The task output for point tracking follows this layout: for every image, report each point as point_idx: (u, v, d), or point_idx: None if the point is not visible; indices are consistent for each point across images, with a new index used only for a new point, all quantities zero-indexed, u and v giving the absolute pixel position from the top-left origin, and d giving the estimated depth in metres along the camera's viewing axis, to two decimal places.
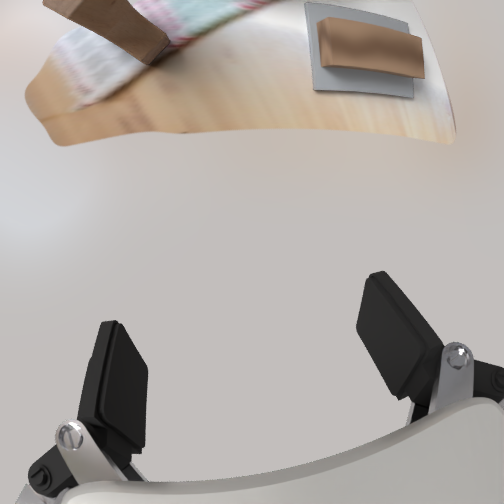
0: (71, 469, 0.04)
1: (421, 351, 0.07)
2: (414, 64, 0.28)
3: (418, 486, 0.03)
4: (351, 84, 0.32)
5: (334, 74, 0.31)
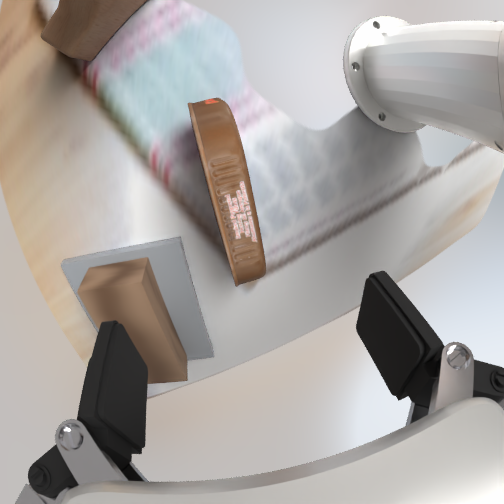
0: (71, 469, 0.04)
1: (421, 351, 0.07)
2: None
3: (418, 486, 0.03)
4: None
5: None
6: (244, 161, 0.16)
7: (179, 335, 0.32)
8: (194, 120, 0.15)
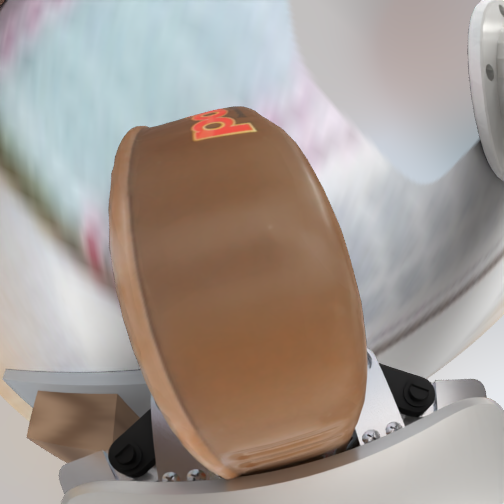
0: (154, 430, 0.05)
1: None
2: None
3: (418, 486, 0.03)
4: None
5: None
6: (358, 417, 0.04)
7: None
8: (125, 267, 0.03)
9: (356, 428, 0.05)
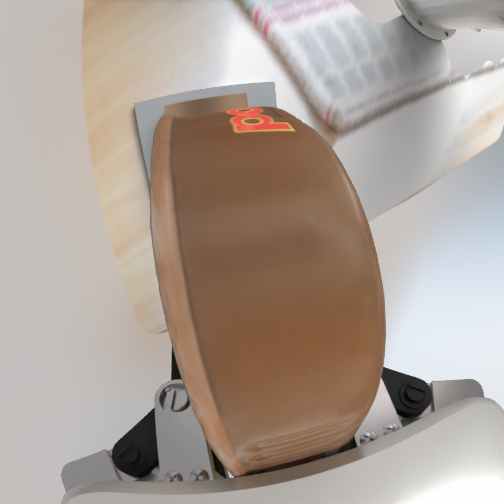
0: (158, 429, 0.05)
1: None
2: None
3: (418, 486, 0.03)
4: None
5: None
6: (367, 413, 0.04)
7: None
8: (167, 245, 0.03)
9: None
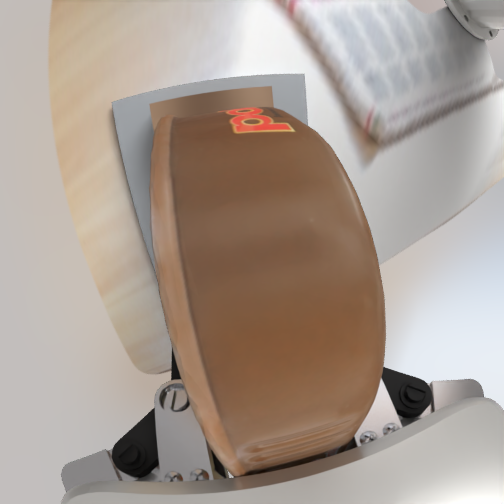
0: (158, 429, 0.05)
1: None
2: None
3: (418, 486, 0.03)
4: (138, 171, 0.19)
5: (150, 131, 0.17)
6: (367, 413, 0.04)
7: None
8: (167, 246, 0.03)
9: None
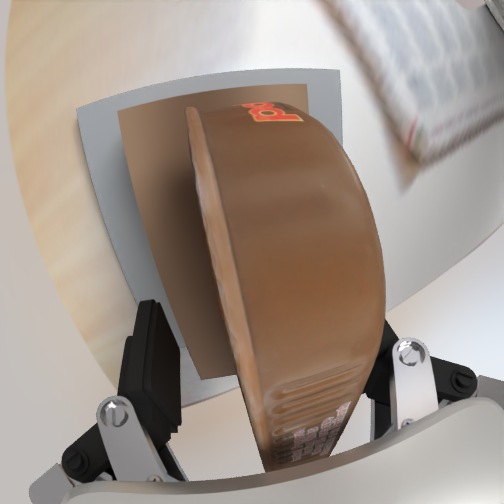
0: (106, 446, 0.05)
1: None
2: (226, 358, 0.16)
3: (418, 486, 0.03)
4: (114, 202, 0.14)
5: None
6: (373, 362, 0.04)
7: None
8: (213, 203, 0.03)
9: (398, 414, 0.05)
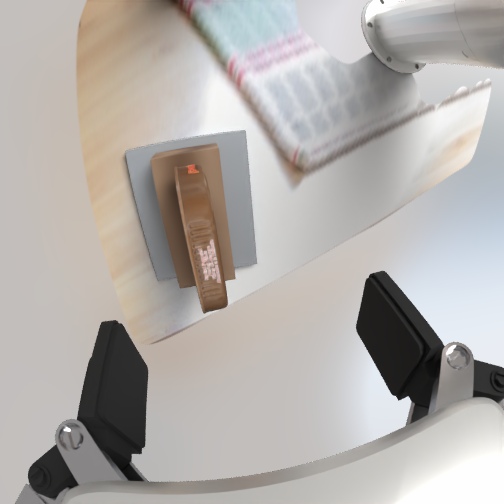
0: (71, 469, 0.04)
1: (421, 351, 0.07)
2: (192, 272, 0.33)
3: (418, 486, 0.03)
4: (142, 195, 0.31)
5: (149, 171, 0.30)
6: (214, 224, 0.22)
7: None
8: (178, 189, 0.21)
9: (435, 410, 0.05)
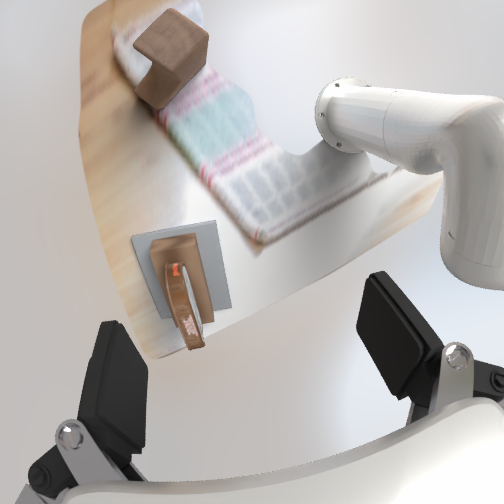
0: (71, 469, 0.04)
1: (421, 351, 0.07)
2: None
3: (418, 486, 0.03)
4: (146, 266, 0.45)
5: None
6: (190, 307, 0.35)
7: (209, 289, 0.49)
8: (168, 288, 0.34)
9: (435, 410, 0.05)
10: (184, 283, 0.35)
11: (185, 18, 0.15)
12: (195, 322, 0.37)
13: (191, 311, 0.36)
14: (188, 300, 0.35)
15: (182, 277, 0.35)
